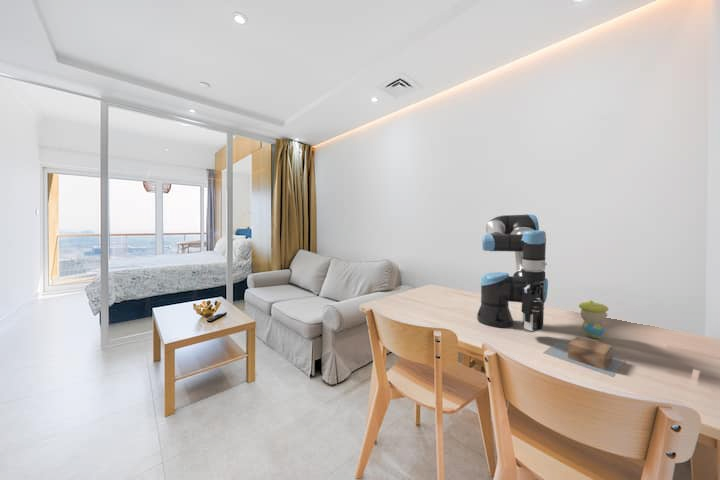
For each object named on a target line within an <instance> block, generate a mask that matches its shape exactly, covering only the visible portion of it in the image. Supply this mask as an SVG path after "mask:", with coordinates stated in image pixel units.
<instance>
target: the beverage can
mask: <svg viewBox="0 0 720 480" xmlns="http://www.w3.org/2000/svg"><path fill="white" fill-rule="evenodd" d="M544 310H545V303H544V304H543V302H542V299H540V298H534V303H533V309H532V314H533V331H532V332H534V331H535V332H538V331H542V330H543V329H544V315H545V314H544V313H545V312H544ZM522 326H523V327H524V313H522Z"/></svg>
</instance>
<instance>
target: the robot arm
mask: <svg viewBox="0 0 720 480" xmlns="http://www.w3.org/2000/svg"><path fill="white" fill-rule="evenodd" d="M538 220H539V219H538V217H537V216H536V215H534V214H526V213H525V214H509V215H507V214H506V215H499V216H495V217H494V218H492V219H490V220H489V221H487V223H486V225H485V233H487V234H483V235H482V240H481V242H482V243H481V245H482V247H481V248H482V250H483V251H484V252H485V251H486V252H513V253H514V255H515V256H514V257H515V270H516V271H515V272H513V274H512V276H511V275H510V274H509V273H508V272H501V271H499V272H498V271H497V272H490V273H489V272H487V273H485V274H483V275H482V276H481V279H480V286H481V287H480V295H481V296H480V306H479V310H478V312H477V317H476V318H477V319H476V320H477V321H478V322H479V323H480V324H483V325H486V326H489V327H495V328H496V327H498V328H507V327H511V326H513V324H514V321H513V320H514V318H513V316H512V312H511V310H510V307H509V302H511V303H520V304H521V313H522V314H523V313H524V326H523V329H524V330H528V331H530V332H534V331H533V314H532V309H533V303H534V298H540V299H542V302H543V304H544V305H545V303H546V301H547V297H548V291H549V289H548V288H549V280H548V278H546V272H545V270H546V266H547V265H548V264H547V262H546V250H547V249H546V248H547V247H546V245H547V236H546V235H547V234H546V232H545V230H540V227H539V221H538Z"/></svg>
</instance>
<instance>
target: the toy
mask: <svg viewBox="0 0 720 480" xmlns="http://www.w3.org/2000/svg"><path fill="white" fill-rule="evenodd" d="M578 307H579V308H580V309H581V310H580V316H581V318H582V319H583V323H582V330H583V332H584V333H585V335H586V336H587V337H589V338H591V339H598V338H601V337H602V336H603V334H604V333H605V329H604V327H603V325H602V324H604V323H605V322H606V321H607V317H608V313H606V312H608V311H609V307H608V306H607V305H605V304H603V303H600V302H594V301H593V300H588V301H585V302H580V303H579V305H578Z"/></svg>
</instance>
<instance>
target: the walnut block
mask: <svg viewBox="0 0 720 480" xmlns="http://www.w3.org/2000/svg"><path fill="white" fill-rule="evenodd" d="M567 345H568V358H569V359H572V360H575V361H578V362H581V363H584V364H587V365H590V366H593V367H596V368H599V369H602V370H605V369H606V367H607V366H608V365H609V364H610V363H611V361H612V358H613V345H611V344H608V343H607V344H606V343H603V342H600V341H596V340H592V339H589V338H584V337H580V336H576V337H575V338H573V340H571V341H569V342H568V344H567Z"/></svg>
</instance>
